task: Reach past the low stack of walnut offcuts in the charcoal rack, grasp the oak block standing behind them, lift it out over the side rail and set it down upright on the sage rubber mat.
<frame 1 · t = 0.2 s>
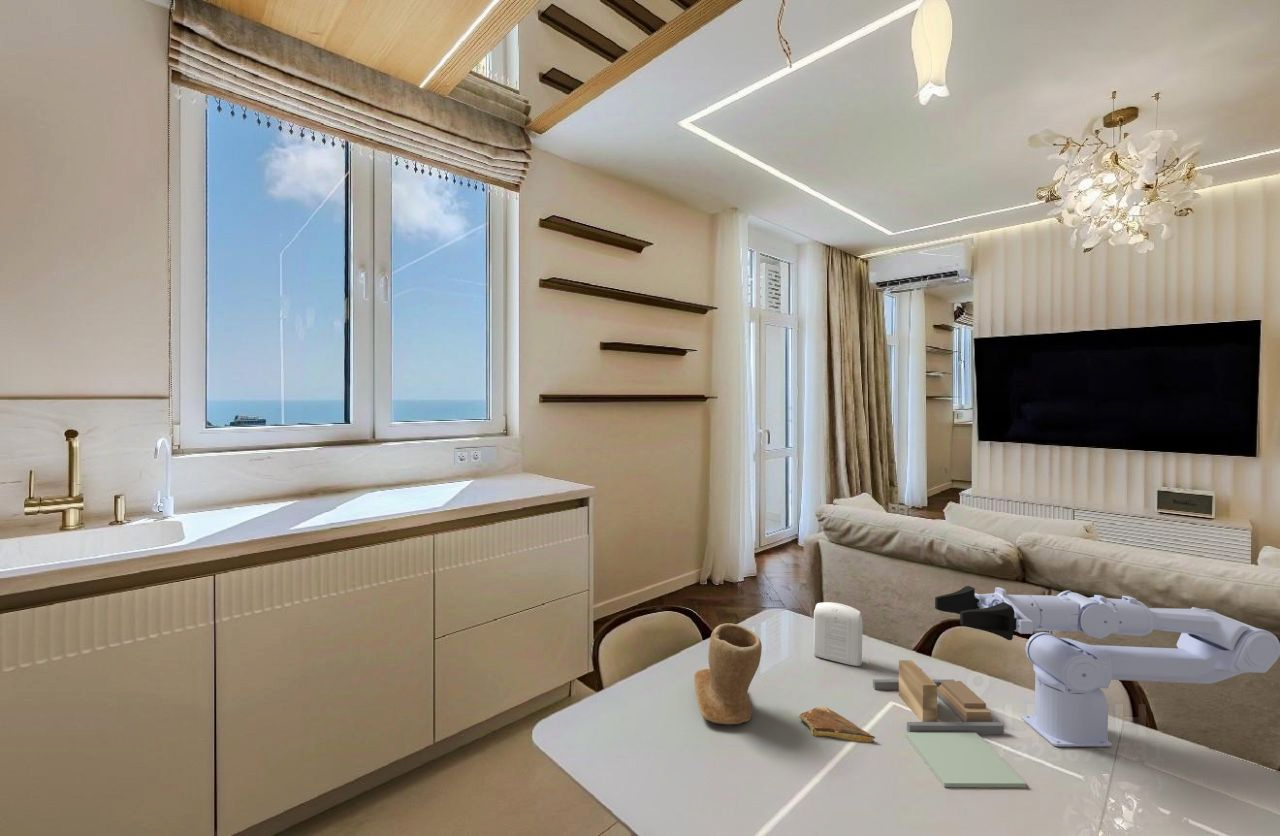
hand: (948, 610, 91), 21 cm above the table, tool horizontal, fingers open, 7 cm apart
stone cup: (727, 706, 100), on the table
shard: (834, 728, 94), on the table
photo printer: (837, 659, 118), on the table
oak block: (916, 709, 99), on the table
sage mat: (961, 759, 85), on the table
offcut rack: (933, 708, 98), on the table
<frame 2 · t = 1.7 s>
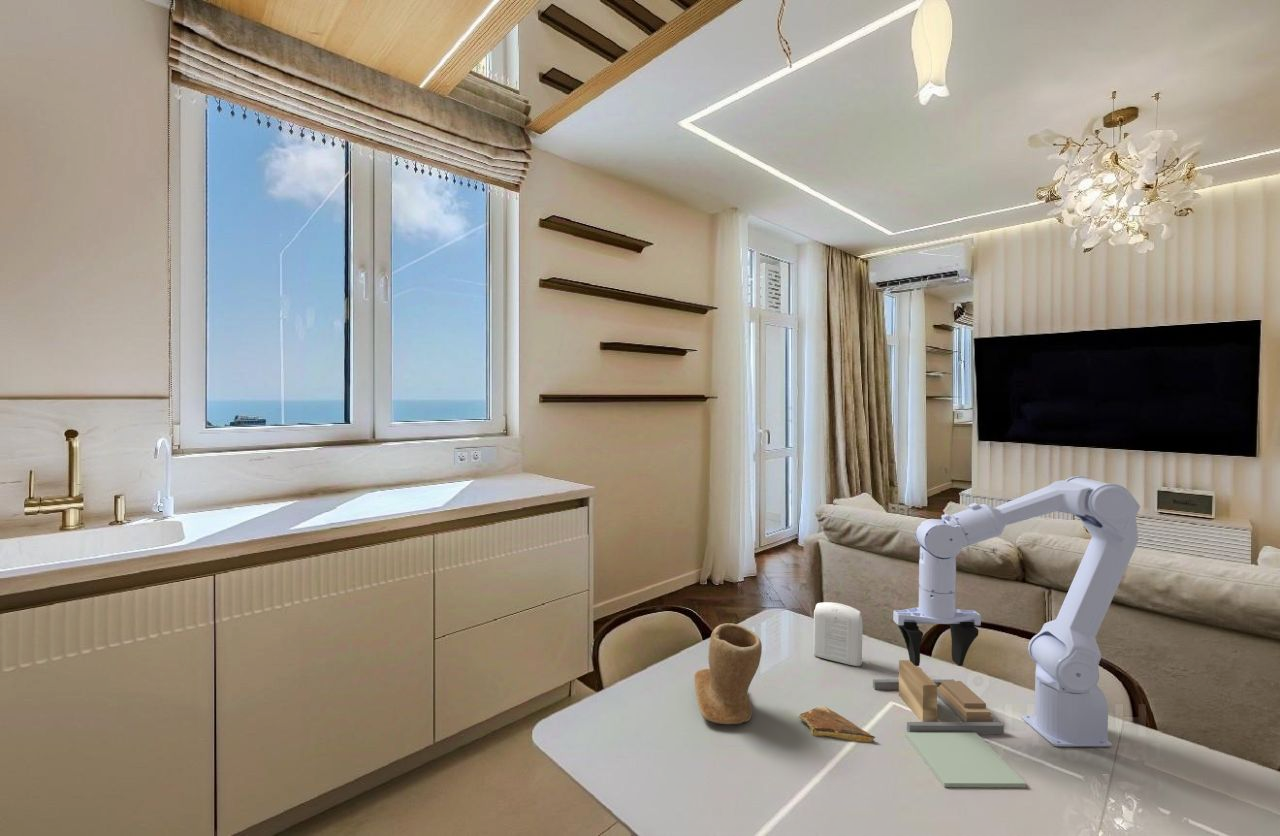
hand: (935, 663, 95), 10 cm above the table, tool pointing down, fingers open, 7 cm apart
nothing on the table moved.
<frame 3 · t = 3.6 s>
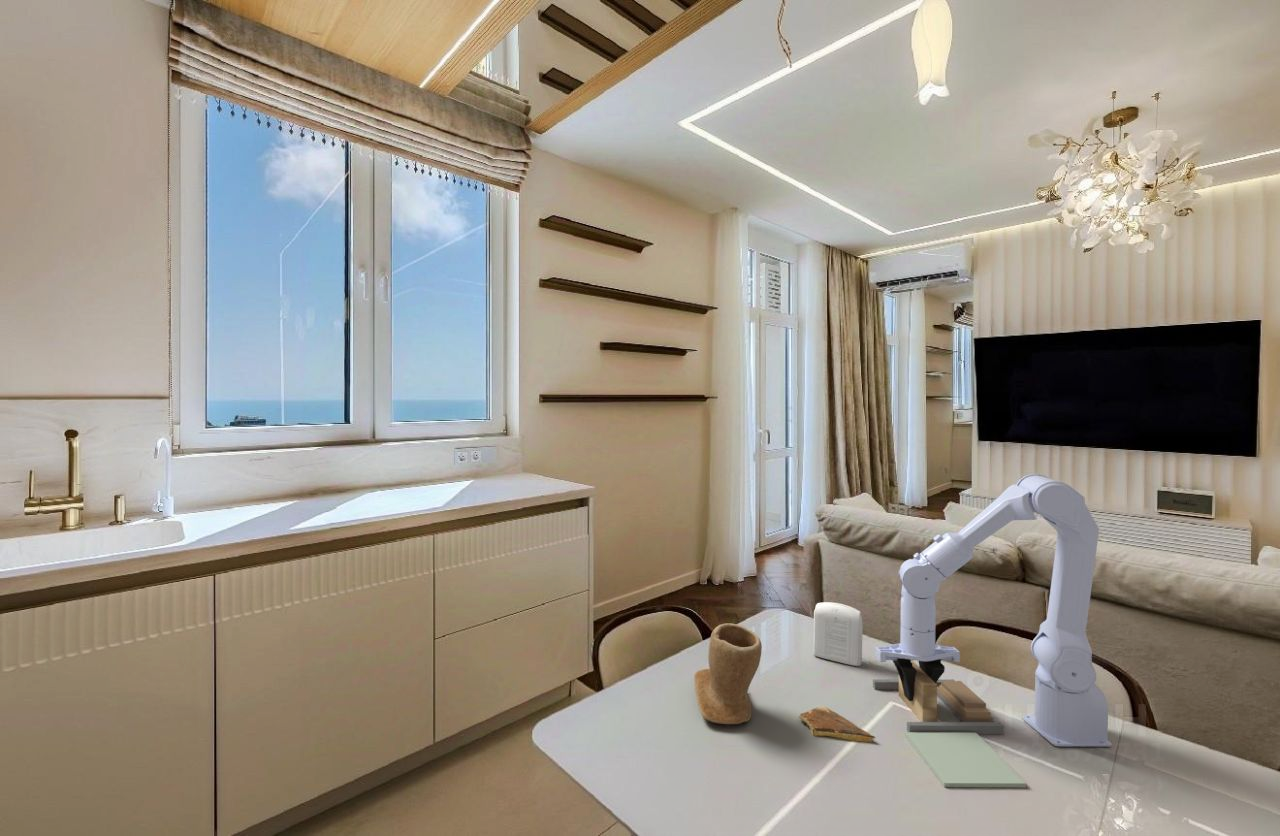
hand: (916, 698, 98), 2 cm above the table, tool pointing down, fingers closed on oak block, 2 cm apart
oak block: (916, 708, 99), on the table, touching gripper
everything else where it was.
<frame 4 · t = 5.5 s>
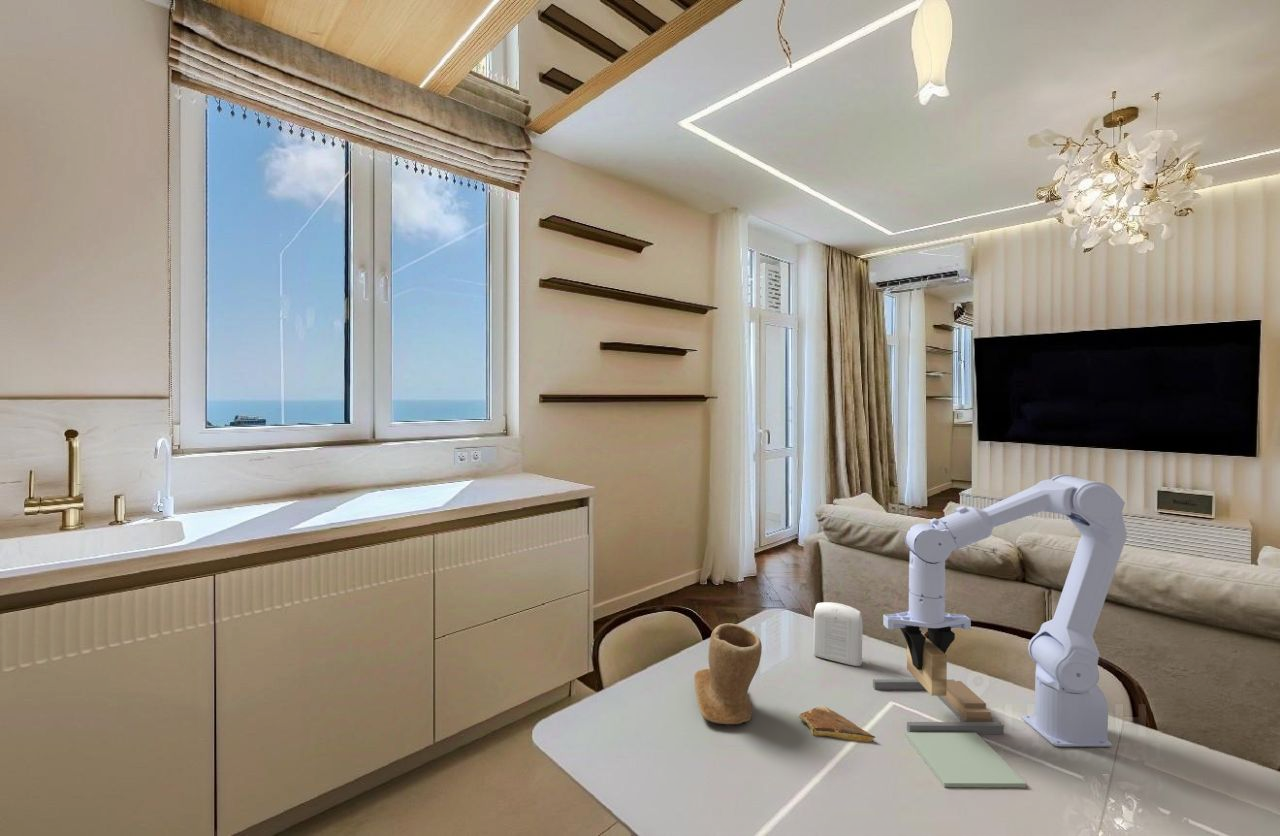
hand: (926, 667, 95), 9 cm above the table, tool pointing down, fingers closed on oak block, 2 cm apart
oak block: (925, 681, 95), point 7 cm above the table, touching gripper
everything else where it was.
when the fingers open (4 cm above the table, at t = 7.8 s): oak block stays where it is, resting on sage mat.
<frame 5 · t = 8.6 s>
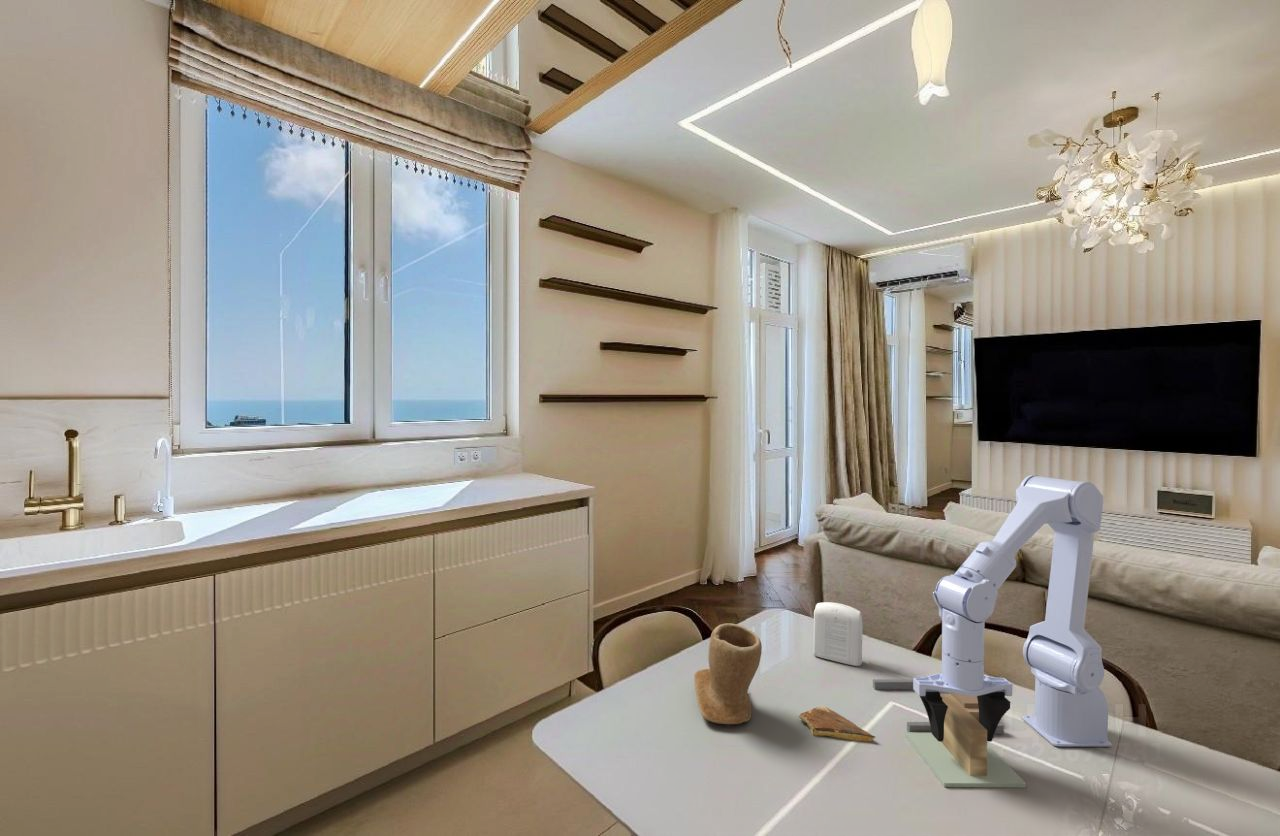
hand: (961, 737, 84), 4 cm above the table, tool pointing down, fingers open, 7 cm apart
oak block: (960, 755, 85), point 1 cm above the table, touching sage mat
everything else where it was.
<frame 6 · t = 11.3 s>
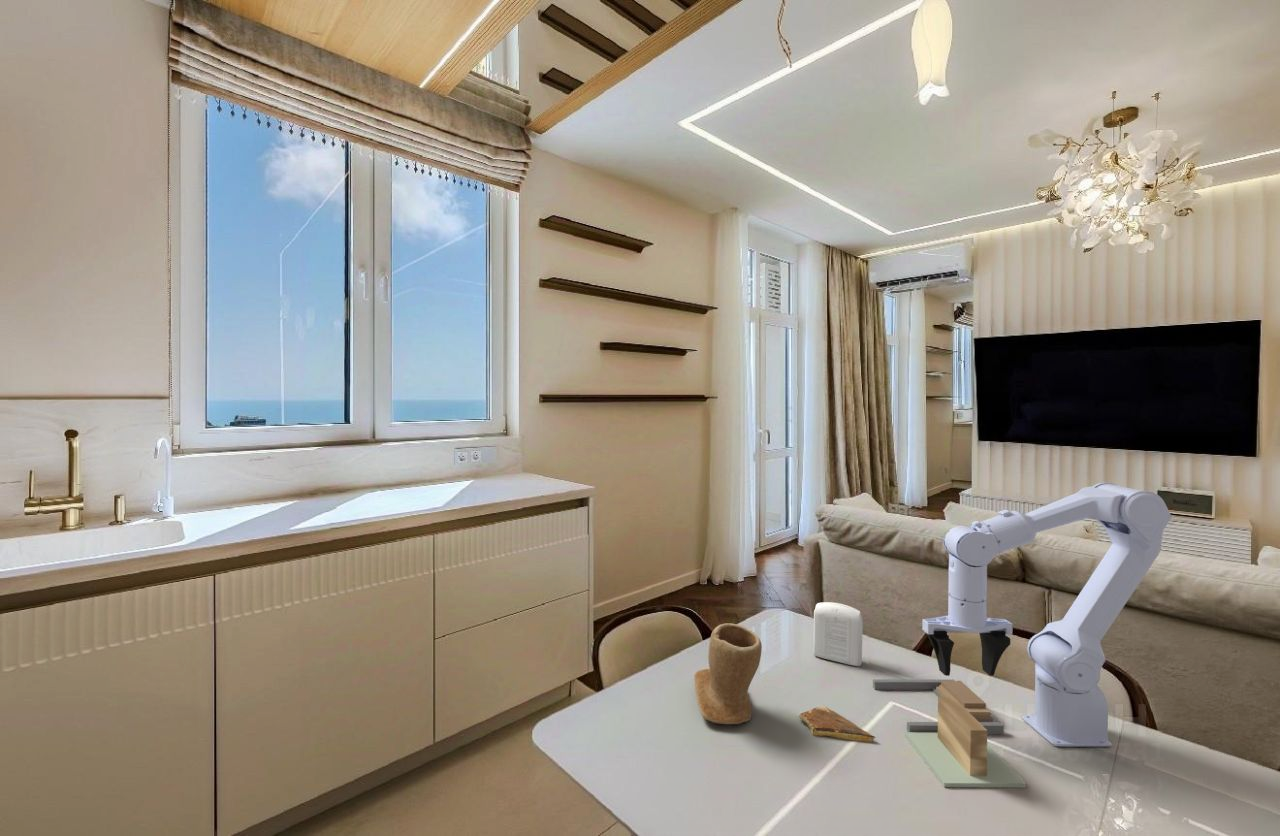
hand: (966, 672, 93), 9 cm above the table, tool pointing down, fingers open, 7 cm apart
nothing on the table moved.
at the end: oak block inside the target area on the sage mat (0.1 cm from its centre), point 0.6 cm above the sage mat's base; oak block tilted 0°; the gripper is holding nothing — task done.
